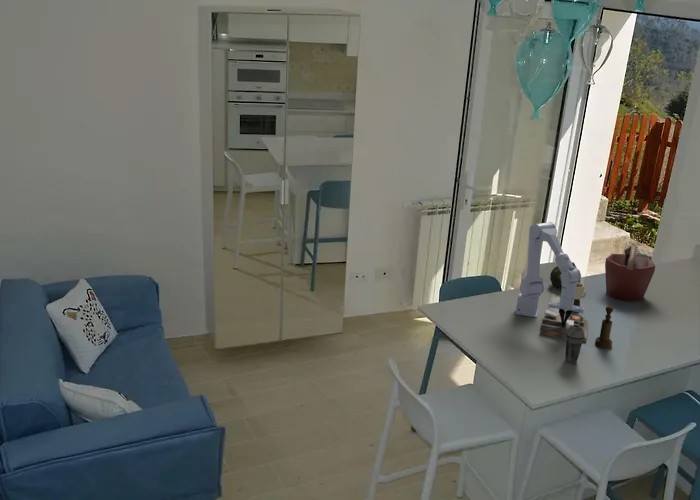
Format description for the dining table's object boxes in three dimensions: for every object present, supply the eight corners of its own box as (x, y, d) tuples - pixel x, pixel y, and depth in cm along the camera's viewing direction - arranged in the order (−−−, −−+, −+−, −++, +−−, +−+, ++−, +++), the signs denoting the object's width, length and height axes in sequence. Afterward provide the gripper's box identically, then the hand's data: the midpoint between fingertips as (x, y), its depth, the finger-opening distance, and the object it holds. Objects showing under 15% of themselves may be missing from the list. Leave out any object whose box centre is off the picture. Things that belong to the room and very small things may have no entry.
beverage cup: (558, 357, 278) (565, 311, 272) (576, 357, 279) (583, 311, 272) (565, 365, 271) (572, 319, 265) (583, 365, 272) (591, 319, 265)
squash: (540, 275, 352) (560, 260, 342) (555, 270, 362) (576, 255, 352) (555, 299, 347) (577, 284, 337) (570, 293, 357) (592, 278, 347)
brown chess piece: (611, 343, 292) (618, 304, 286) (611, 350, 286) (618, 310, 280) (594, 340, 294) (601, 301, 288) (594, 347, 288) (601, 307, 282)
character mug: (587, 312, 323) (591, 286, 319) (578, 315, 319) (582, 289, 314) (567, 304, 331) (571, 279, 327) (558, 307, 327) (562, 282, 322)
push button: (571, 321, 306) (571, 318, 306) (571, 318, 310) (572, 315, 309) (580, 323, 305) (581, 320, 304) (580, 320, 308) (581, 316, 308)
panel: (539, 333, 298) (541, 325, 297) (543, 316, 316) (545, 308, 315) (585, 342, 292) (587, 333, 291) (587, 324, 310) (588, 315, 309)
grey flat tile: (544, 314, 310) (545, 312, 310) (545, 311, 313) (546, 309, 313) (555, 318, 309) (556, 316, 308) (556, 315, 312) (557, 313, 312)
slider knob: (565, 331, 296) (566, 324, 295) (565, 327, 300) (566, 319, 299) (572, 332, 295) (573, 325, 294) (572, 328, 299) (574, 320, 298)
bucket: (610, 283, 361) (618, 238, 353) (654, 294, 348) (663, 247, 341) (595, 297, 342) (603, 249, 334) (642, 309, 330) (651, 259, 322)
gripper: (549, 296, 292) (545, 325, 297) (585, 302, 288) (580, 331, 292) (550, 290, 299) (546, 319, 303) (585, 296, 294) (581, 325, 298)
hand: (563, 325), depth 298 cm, fingers closed
